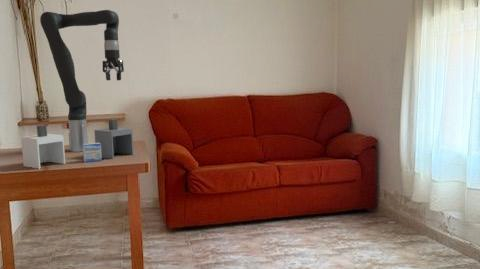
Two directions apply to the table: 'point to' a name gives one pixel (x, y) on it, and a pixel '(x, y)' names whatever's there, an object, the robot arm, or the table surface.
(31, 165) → the grey hood
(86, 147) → the medicine box
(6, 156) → the table surface
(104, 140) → the box
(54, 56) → the robot arm
